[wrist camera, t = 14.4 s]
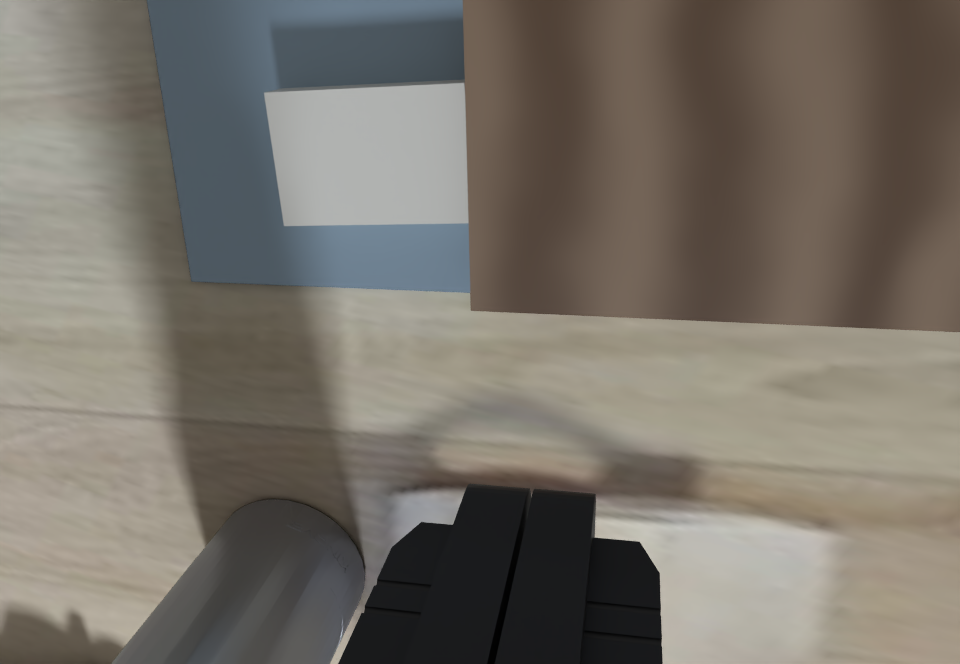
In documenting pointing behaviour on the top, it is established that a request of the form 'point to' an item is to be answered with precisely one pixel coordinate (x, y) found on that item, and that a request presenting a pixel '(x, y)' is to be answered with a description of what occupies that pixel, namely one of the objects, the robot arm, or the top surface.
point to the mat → (247, 143)
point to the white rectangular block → (370, 153)
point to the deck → (716, 160)
